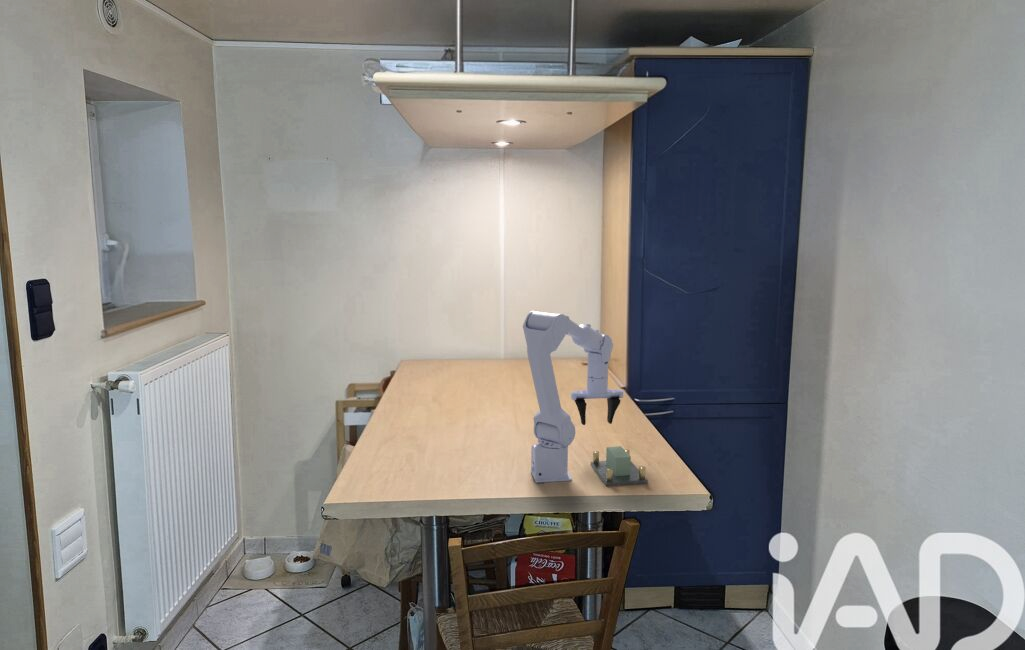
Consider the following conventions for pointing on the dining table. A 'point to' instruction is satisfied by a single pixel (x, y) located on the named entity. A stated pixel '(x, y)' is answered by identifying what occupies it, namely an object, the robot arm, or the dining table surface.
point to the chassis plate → (612, 480)
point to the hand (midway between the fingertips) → (596, 423)
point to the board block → (618, 460)
